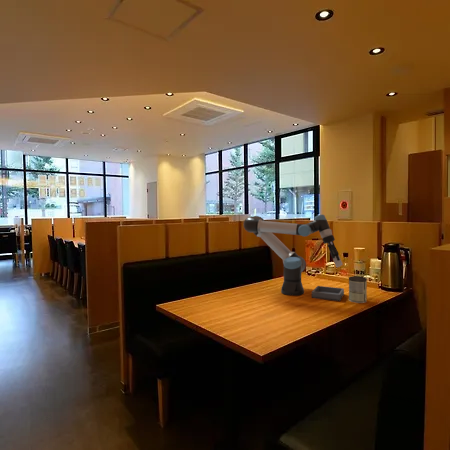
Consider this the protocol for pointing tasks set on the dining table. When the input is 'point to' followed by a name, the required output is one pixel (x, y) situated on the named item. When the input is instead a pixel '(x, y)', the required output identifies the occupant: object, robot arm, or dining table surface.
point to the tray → (328, 293)
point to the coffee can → (357, 289)
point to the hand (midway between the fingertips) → (339, 266)
